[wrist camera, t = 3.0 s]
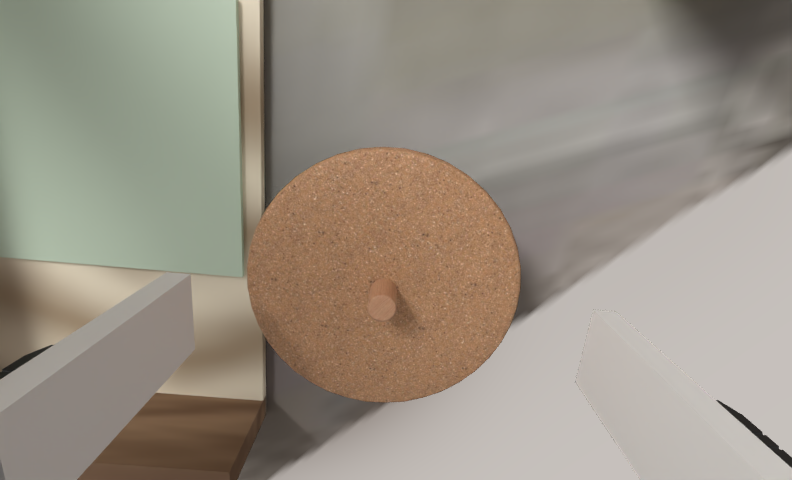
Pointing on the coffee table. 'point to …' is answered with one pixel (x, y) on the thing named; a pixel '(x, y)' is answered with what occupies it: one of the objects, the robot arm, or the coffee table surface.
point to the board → (211, 294)
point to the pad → (122, 134)
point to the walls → (182, 440)
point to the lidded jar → (383, 274)
